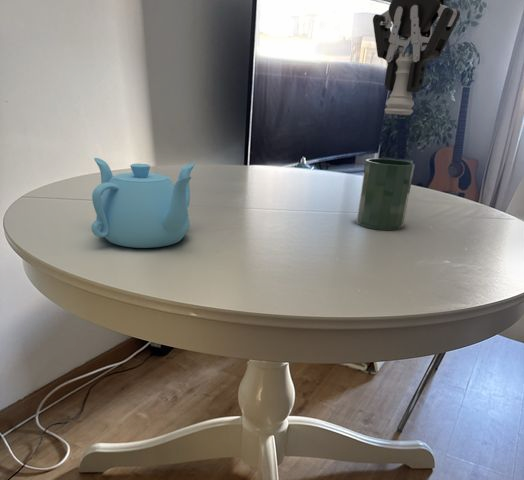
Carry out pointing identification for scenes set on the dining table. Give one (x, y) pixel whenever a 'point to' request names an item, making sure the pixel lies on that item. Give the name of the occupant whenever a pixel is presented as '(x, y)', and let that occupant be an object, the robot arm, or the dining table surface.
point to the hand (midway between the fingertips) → (401, 91)
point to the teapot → (141, 207)
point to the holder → (384, 193)
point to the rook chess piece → (401, 88)
